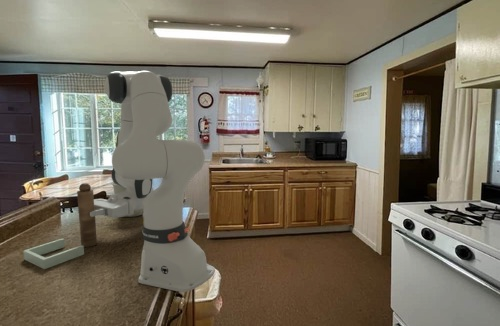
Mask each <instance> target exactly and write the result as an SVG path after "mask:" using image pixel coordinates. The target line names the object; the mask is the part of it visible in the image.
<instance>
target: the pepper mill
mask: <svg viewBox="0 0 500 326" xmlns="http://www.w3.org/2000/svg"><path fill="white" fill-rule="evenodd" d="M78 189H79V190H77V191H76V195H77V208H78V209H77V211H78V210H79V213H78V222H79V233H80V246H81V245H83V246H84V248H91V247H93V246H96V245H97V243H98V239H97V238H98V237H97V227H96V223H97V222H96V216H93V217H91V216H89V214H88V212H89V211H93V210H94V211H95V209H94V199H95V195H94V189H92V187H91V185H90V184H89V183H88V182H82V183H81V184H80V185H79V187H78Z"/></svg>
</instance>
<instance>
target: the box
mask: <svg viewBox="0 0 500 326" xmlns="http://www.w3.org/2000/svg"><path fill="white" fill-rule="evenodd" d="M65 242H66V241H65V238H59V239H56V240H54V241H50V242H46V243H43V244H41V245H37V246H33V247H31V248H27V249H24V250H23V251H22V253H23V259H24V260H25V261H27V262H29V263H30V264H33V265H35V266H37V267H38V268H41V269H42V270H46V269H49V268H52V267H54V266H58V265H60V264H63V263H65V262H67V261H69V260H73V259H76V258H78V257H81V256H83V255H85V247H84V246H83V245H81V244H80V245H78V246H75V247H72V248H70V249H67V250H64V251H61V252H59V253H55V254H53V255H49V256H46V257H45V256H43V255H45V254H48V253H52V252H54V251H56V250H59V249H64V248H66V243H65Z"/></svg>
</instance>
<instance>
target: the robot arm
mask: <svg viewBox="0 0 500 326" xmlns="http://www.w3.org/2000/svg"><path fill="white" fill-rule="evenodd" d="M104 90H105V94H106V96H107V97H108V99H109V100H110V101H111V102H112V103H116V104H120V105H121V106H120V129H119V130H118V132H117V134H116V135H117V136H116V141H115V149H114V150H113V152H112V156H111V165H112V171H111V180H112V182H114V183H115V184H117V185H120V186H123V187H125V188H127V189H126V191H125V192H121V193H116V194H114V193H113V194H111V195H110V196H109V197H108V199H104V198H94V209H95V211H94V210H93V211H89V212H88V214H89V216H91V217H93V216H95V217H98V216H99V217H100V216H105V217H108V218H111V219H116V218H117V219H118V218H122V217H123V218H124V217H125V216H131V215H133V213H134V210H140V209H143V213H144V225H143V224H142V231H141V234H142V239H143V246H142V250H141V260H140V262H141V263H140V271H139V274H140V275H139V276H138V279H137V280H138V283H139V284H142V285H146V286H151V287H157V288H161V289H164V290H165V289H166V290H171V291H175V292H179V293H185V292H190V291H192V290H195V289H196V288H198V287H200V286H203V285H204V284H205V283H207V281H209V280H210V279H211V278H212V277H214V275H215V273H216V269H215V267H214V266H213V265H210V264H209V263H207V257H206V252H205V251H204V250H203V249H202V248H201V246H200V245H199V244H197V243H196V242H195V241H194V240H193V239H192V238H191V237H190V236H189V232H190V231H191V230H190V229H191V227H190V226H189V227H187V226H186V224H185V222H184V219H183V218H184V217H183V215H184V212H183V210H184V196H185V193H186V190H187V187H188V185H189V184H190V182H191V180H192V179H193V178H194V176H195V175H197V174H198V173H199V172H200V171H201V170H202V169H203V166H204V164H205V161H206V160H205V159H206V158H205V152H204V149H203V148H202V146H201V145H200V143H198V142H197V141H193V140H188V139H187V140H186V139H158V138H157V137H159V136H162V135H163V134H165V133H166V132H167V131H169V129H170V128H171V126H172V122H173V117H172V114H171V113H172V112H171V110H170V108H171V107H170V104H169V102H170V101H172V98H173V97H172V96H173V92H174V91H173V85H172V82H171V80H170V78H169V77H167V76H165V75H162V74H156V73H155V72H152V71H149V70H141V71H118V70H117V71H111V72H109V73H108V74H107V75H106V78H105V81H104ZM154 179H161V180H162V181H161V183H160V185H159V186H158V187H157V188H155V189H154V188H153V180H154ZM77 211H78V214H79V210H78V209H77Z"/></svg>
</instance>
